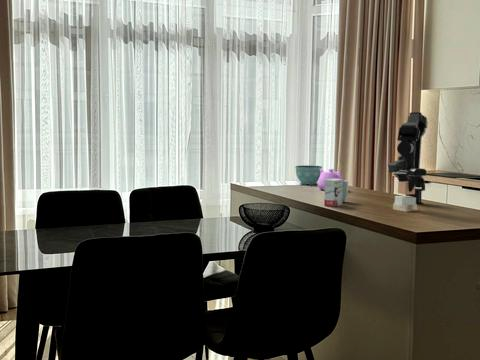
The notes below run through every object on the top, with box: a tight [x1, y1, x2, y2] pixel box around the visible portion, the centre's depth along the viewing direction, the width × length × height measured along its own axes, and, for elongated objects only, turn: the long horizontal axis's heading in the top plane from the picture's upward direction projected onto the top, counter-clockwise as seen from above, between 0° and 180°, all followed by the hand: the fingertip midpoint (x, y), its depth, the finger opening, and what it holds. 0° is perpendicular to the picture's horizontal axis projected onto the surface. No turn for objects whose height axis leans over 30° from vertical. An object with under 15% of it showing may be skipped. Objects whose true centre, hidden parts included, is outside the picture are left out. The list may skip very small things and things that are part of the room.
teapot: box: [317, 168, 344, 191], centre depth 309 cm, size 20×13×12 cm, turn 27°
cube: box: [397, 181, 416, 195], centre depth 239 cm, size 5×5×5 cm
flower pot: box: [294, 165, 323, 186], centre depth 338 cm, size 16×16×11 cm
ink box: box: [323, 178, 344, 208], centre depth 250 cm, size 9×5×12 cm, turn 143°
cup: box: [342, 179, 349, 203], centre depth 261 cm, size 8×8×10 cm
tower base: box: [392, 202, 418, 213], centre depth 240 cm, size 7×7×3 cm
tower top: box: [394, 195, 416, 205], centre depth 240 cm, size 6×6×3 cm
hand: (406, 190), depth 239 cm, fingers open, 5 cm apart
